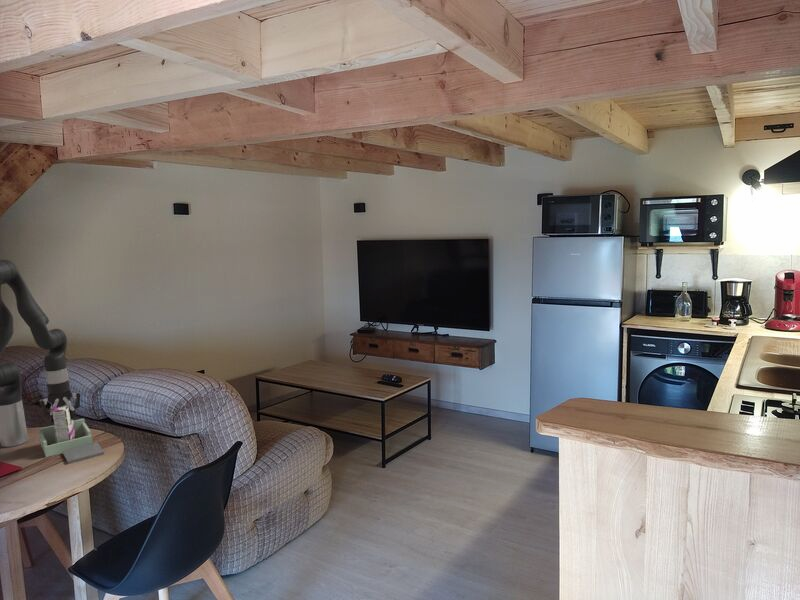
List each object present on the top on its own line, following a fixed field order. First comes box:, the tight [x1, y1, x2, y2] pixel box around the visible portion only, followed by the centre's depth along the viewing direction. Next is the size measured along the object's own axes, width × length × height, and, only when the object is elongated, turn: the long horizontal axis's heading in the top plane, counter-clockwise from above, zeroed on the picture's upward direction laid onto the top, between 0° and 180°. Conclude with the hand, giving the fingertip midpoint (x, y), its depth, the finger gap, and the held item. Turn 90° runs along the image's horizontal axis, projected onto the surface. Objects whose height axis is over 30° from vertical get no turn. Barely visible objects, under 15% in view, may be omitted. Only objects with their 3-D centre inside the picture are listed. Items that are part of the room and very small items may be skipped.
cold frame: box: [38, 418, 93, 458], centre depth 223 cm, size 15×16×7 cm
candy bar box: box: [52, 400, 77, 443], centre depth 223 cm, size 11×5×16 cm, turn 22°
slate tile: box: [62, 442, 105, 465], centre depth 215 cm, size 12×12×1 cm
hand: (63, 421), depth 222 cm, fingers closed on candy bar box, 5 cm apart
